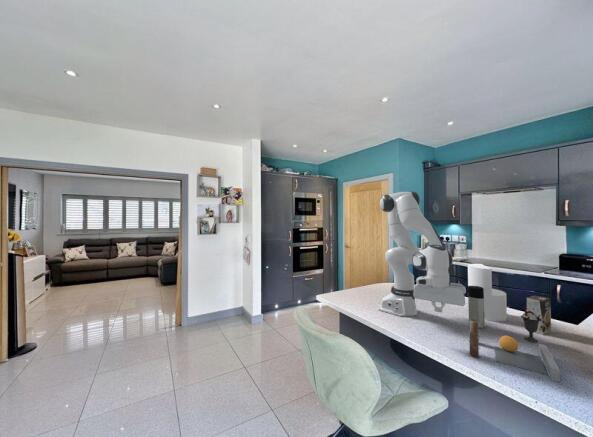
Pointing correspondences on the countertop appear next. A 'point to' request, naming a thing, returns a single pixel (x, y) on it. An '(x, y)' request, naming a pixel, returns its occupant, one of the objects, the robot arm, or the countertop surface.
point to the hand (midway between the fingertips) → (438, 311)
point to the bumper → (549, 363)
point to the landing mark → (519, 360)
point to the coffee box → (541, 312)
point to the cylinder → (488, 292)
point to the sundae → (530, 324)
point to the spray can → (476, 305)
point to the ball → (508, 343)
